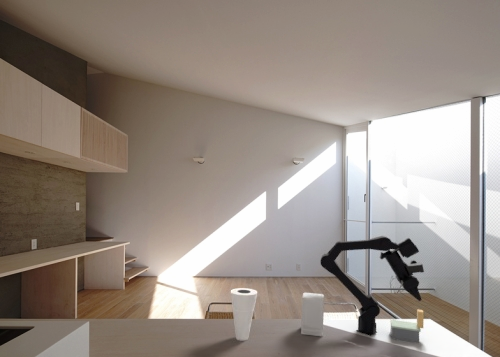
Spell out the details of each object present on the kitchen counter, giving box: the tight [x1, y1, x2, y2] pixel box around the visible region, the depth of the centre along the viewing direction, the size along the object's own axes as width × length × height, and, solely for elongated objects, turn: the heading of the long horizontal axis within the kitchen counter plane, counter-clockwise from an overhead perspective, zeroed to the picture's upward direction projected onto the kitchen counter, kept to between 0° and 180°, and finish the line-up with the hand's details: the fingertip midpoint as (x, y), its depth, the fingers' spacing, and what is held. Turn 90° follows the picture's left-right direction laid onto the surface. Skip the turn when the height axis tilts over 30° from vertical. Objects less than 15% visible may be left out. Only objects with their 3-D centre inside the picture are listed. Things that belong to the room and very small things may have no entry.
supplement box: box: [300, 292, 325, 337], centre depth 148 cm, size 9×9×15 cm
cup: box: [230, 287, 258, 342], centre depth 138 cm, size 11×11×18 cm
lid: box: [389, 308, 425, 333], centre depth 145 cm, size 12×8×8 cm
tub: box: [390, 326, 420, 344], centre depth 145 cm, size 10×8×5 cm
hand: (418, 297), depth 145 cm, fingers open, 9 cm apart
